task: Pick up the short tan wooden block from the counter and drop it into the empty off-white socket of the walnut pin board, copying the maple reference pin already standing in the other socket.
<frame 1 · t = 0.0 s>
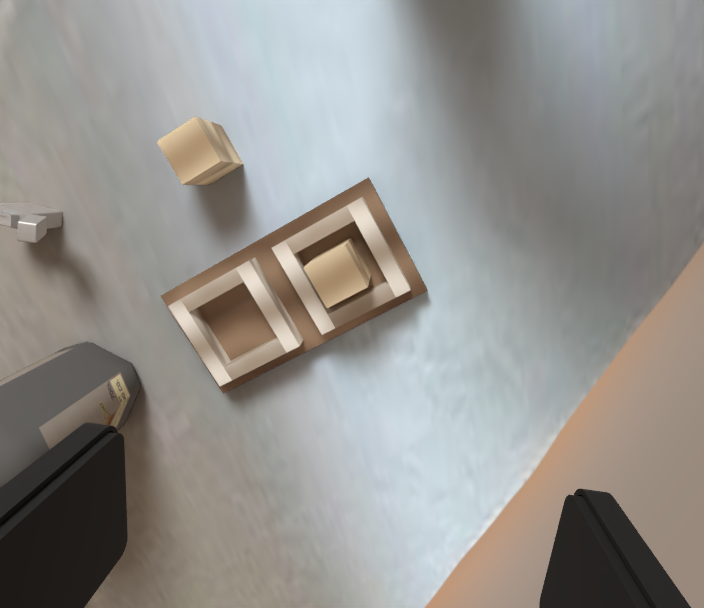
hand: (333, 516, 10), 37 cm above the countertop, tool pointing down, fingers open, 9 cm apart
pin board: (293, 290, 47), on the countertop
liquor: (101, 382, 52), on the countertop
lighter: (57, 218, 48), on the countertop
tan wooden block: (215, 155, 45), on the countertop
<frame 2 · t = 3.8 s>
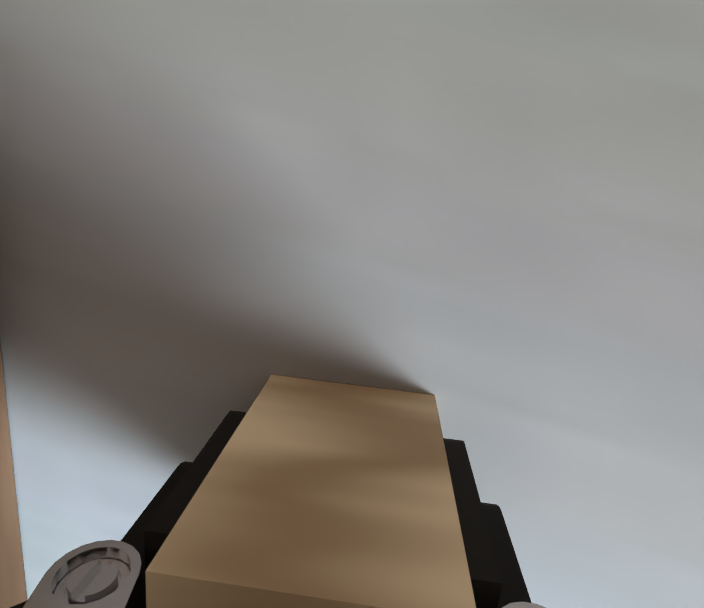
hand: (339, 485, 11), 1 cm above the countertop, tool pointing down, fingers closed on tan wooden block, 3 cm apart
tan wooden block: (344, 456, 12), on the countertop, touching gripper
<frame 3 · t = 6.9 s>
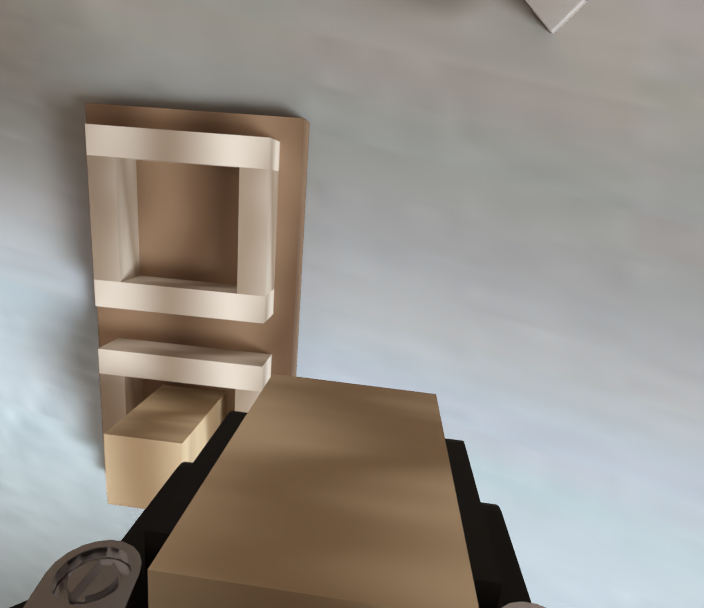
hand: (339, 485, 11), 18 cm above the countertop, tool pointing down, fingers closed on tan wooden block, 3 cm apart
pin board: (204, 319, 29), on the countertop
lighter: (549, 14, 24), on the countertop
tan wooden block: (345, 456, 12), point 17 cm above the countertop, touching gripper
when the fingers open (5 cm above the countertop, at t = 10.3 s): tan wooden block drops 3 cm, resting on pin board.
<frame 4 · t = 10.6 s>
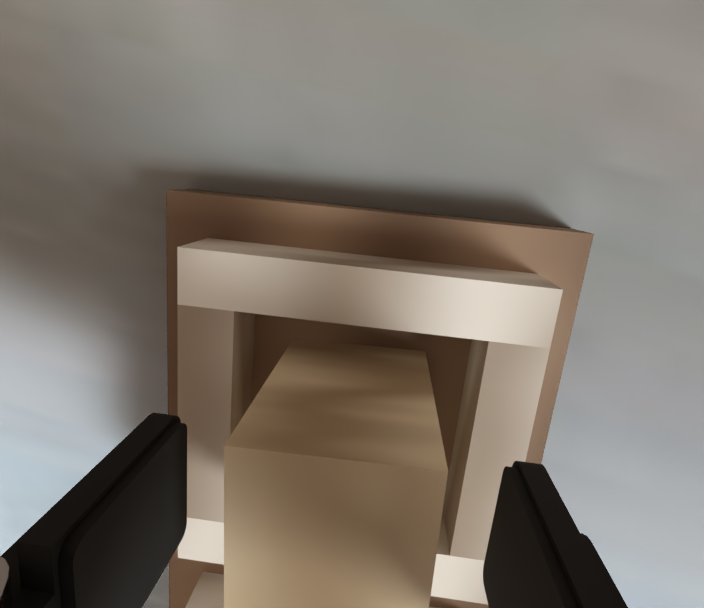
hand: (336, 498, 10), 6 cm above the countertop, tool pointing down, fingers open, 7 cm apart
pin board: (341, 531, 17), on the countertop
tan wooden block: (353, 404, 14), point 1 cm above the countertop, touching pin board
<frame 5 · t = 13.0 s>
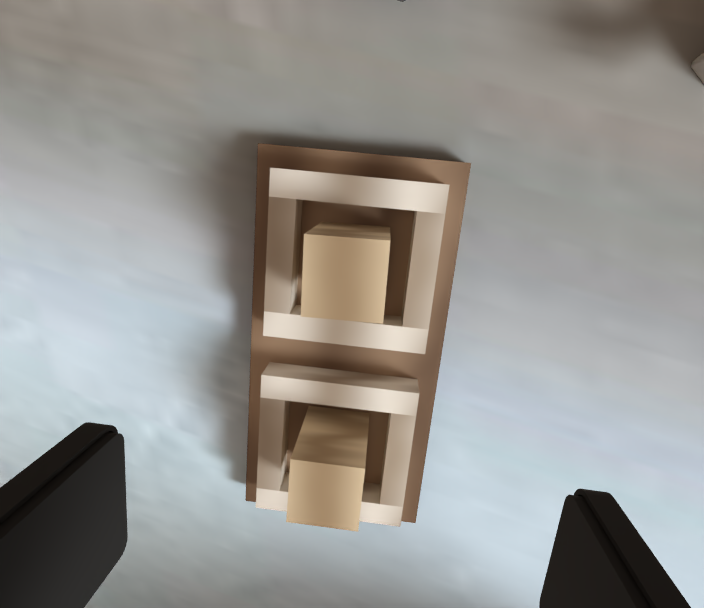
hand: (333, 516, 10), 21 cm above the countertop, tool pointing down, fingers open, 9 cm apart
pin board: (346, 344, 31), on the countertop
tan wooden block: (353, 258, 28), point 1 cm above the countertop, touching pin board
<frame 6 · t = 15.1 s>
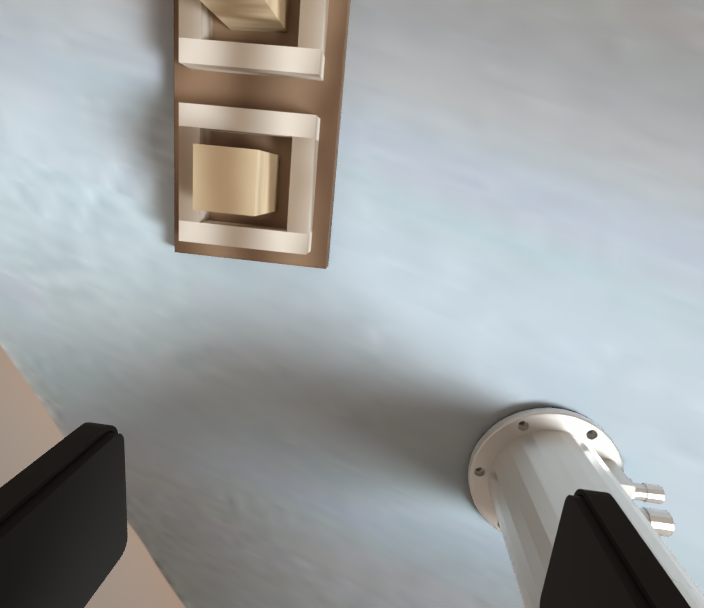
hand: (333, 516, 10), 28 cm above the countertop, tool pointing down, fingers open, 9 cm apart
pin board: (261, 97, 34), on the countertop
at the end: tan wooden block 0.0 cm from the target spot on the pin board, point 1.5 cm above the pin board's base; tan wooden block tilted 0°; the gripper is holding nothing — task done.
